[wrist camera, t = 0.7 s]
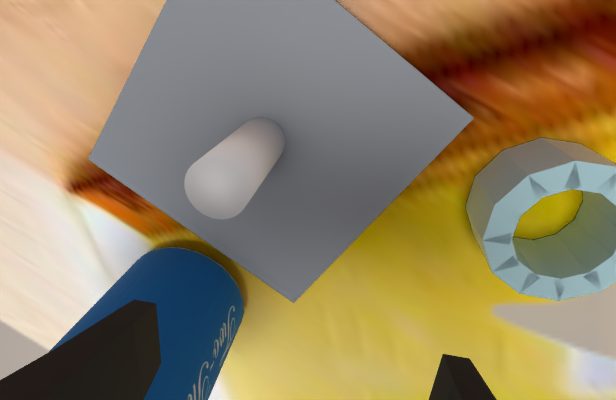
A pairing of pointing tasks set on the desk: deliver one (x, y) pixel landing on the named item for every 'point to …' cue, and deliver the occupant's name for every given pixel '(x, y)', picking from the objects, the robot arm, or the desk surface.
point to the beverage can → (179, 317)
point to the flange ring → (556, 248)
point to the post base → (308, 95)
